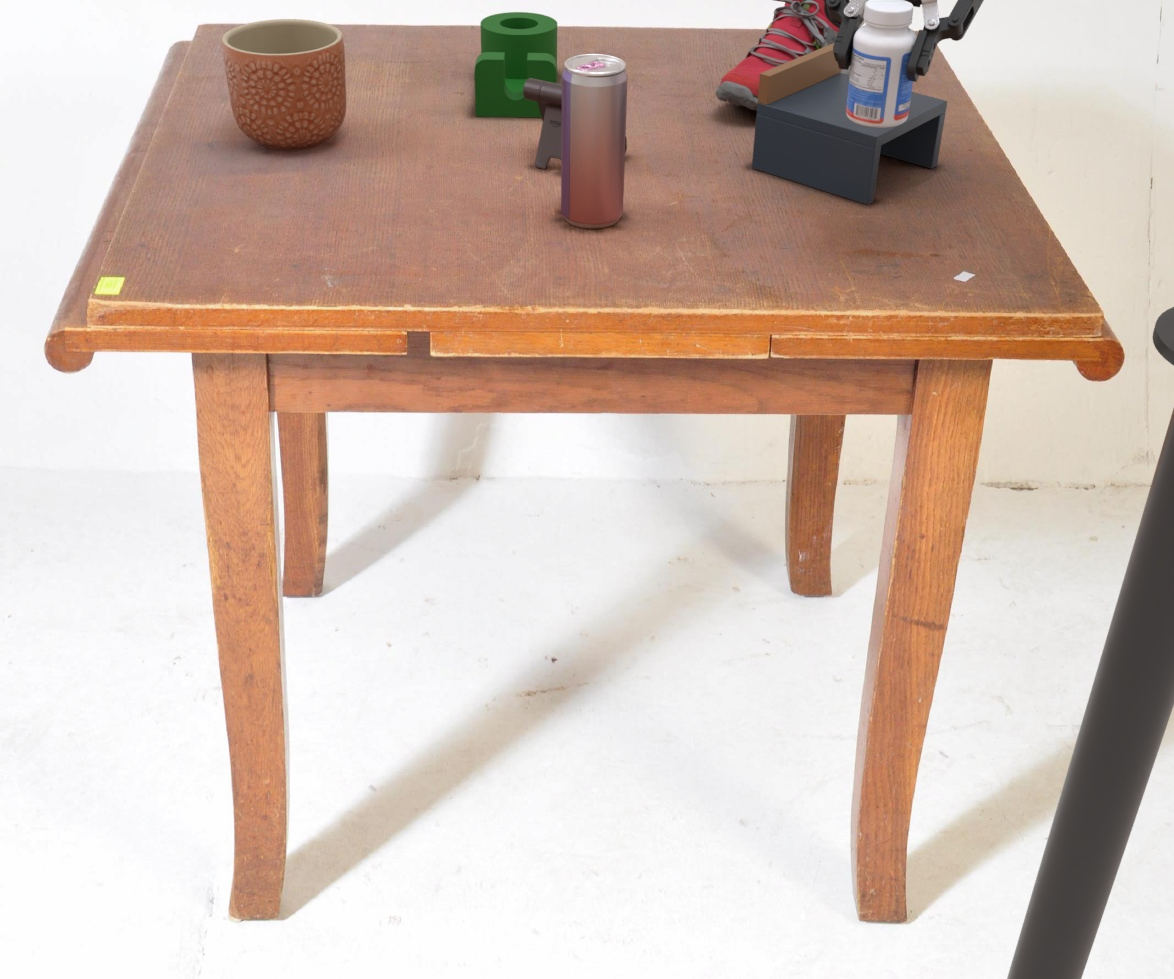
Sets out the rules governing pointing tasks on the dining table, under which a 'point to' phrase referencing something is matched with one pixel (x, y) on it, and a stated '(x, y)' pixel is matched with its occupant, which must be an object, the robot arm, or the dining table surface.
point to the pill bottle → (881, 65)
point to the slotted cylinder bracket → (513, 62)
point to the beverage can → (593, 140)
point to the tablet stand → (548, 118)
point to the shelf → (834, 129)
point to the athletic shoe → (780, 48)
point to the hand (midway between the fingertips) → (876, 70)
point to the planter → (286, 81)
